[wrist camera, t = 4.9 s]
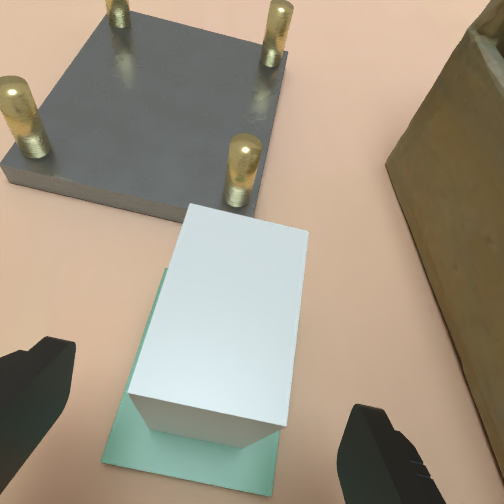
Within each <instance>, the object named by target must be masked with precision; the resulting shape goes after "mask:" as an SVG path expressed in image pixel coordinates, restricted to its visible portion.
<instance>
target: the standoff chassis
mask: <svg viewBox="0 0 504 504" xmlns="http://www.w3.org/2000/svg"><path fill="white" fill-rule="evenodd" d="M105 2H106V8H107V14H106V15H105V17H104V18H103V19H102V21H101V22H100V24H99V25H98V26H97V28H96V29H95V31H94V32H93V33H92V35H91V36H90V38H89V39H88V40H87V42H86V43H85V45H84V46H83V47H82V49H81V50H80V52H79V53H78V55H77V56H76V57H75V59H74V60H73V62H72V63H71V64H70V66H69V67H68V69H67V70H66V71H65V73H64V74H63V76H62V77H61V78H60V80H59V81H58V83H57V84H56V85H55V87H54V88H53V90H52V91H51V92H50V94H49V95H48V97H47V98H46V99H45V101H44V102H43V104H42V105H41V106H40V108H39V109H37V107H36V104H35V102H34V99H33V96H32V94H31V91H30V89H29V86H28V83H27V82H26V81H25V80H24V79H23V78H21V77H18V76H3V77H0V110H1V112H2V114H3V116H4V118H5V120H6V122H7V124H8V126H9V128H10V131H11V133H12V135H13V137H14V139H15V141H16V142H15V143H14V144H13V146H12V147H11V149H10V150H9V151H8V153H7V154H6V156H5V157H4V158H3V160H2V161H1V163H0V167H1V168H2V170H3V172H4V174H5V175H6V177H7V179H8V181H9V182H10V183H14V184H18V185H22V186H27V187H31V188H35V189H39V190H44V191H48V192H52V193H56V194H61V195H65V196H69V197H73V198H78V199H82V200H86V201H90V202H95V203H99V204H103V205H108V206H112V207H116V208H120V209H125V210H129V211H133V212H137V213H142V214H146V215H150V216H154V217H159V218H163V219H167V220H171V221H176V222H180V223H183V222H184V219H185V216H186V213H187V210H188V207H189V204H190V203H192V204H196V205H200V206H204V207H209V208H213V209H217V210H221V211H225V212H230V213H234V214H238V215H242V216H247V217H251V218H253V215H254V210H255V206H256V201H257V196H258V192H259V187H260V182H261V178H262V173H263V168H264V163H265V159H266V154H267V149H268V145H269V140H270V135H271V131H272V126H273V121H274V116H275V112H276V107H277V102H278V98H279V93H280V88H281V84H282V79H283V74H284V69H285V65H286V60H287V55H288V52H287V51H284V47H285V42H286V38H287V34H288V30H289V26H290V22H291V17H292V13H293V9H294V7H293V5H292V4H291V3H290V2H288V1H286V0H272V1H271V3H270V8H269V14H268V19H267V24H266V30H265V35H264V40H263V45H260V44H257V43H253V42H249V41H245V40H241V39H237V38H233V37H230V36H226V35H222V34H218V33H214V32H210V31H207V30H203V29H199V28H195V27H191V26H187V25H183V24H180V23H176V22H172V21H168V20H164V19H160V18H156V17H153V16H149V15H145V14H141V13H137V12H133V11H130V9H129V0H105Z"/></svg>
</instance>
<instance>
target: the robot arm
mask: <svg viewBox="0 0 504 504" xmlns="http://www.w3.org/2000/svg"><path fill="white" fill-rule="evenodd" d="M75 352H76V344H75V342H72V341H67V340H63V339H58V338H53V337H49V336H46V337H44V338H43V339H42V340H40V341H39V342H38V343H37V344H36V345H35V346H33V347H32V348H31V349H30V350H29V351H23V350H18V351H16V352H13V353H11V354H8V355H6V356H3V357H1V358H0V494H1V493H2V492H3V490H4V489H5V488H6V486H7V485H8V484H9V482H10V481H11V480H12V478H13V477H14V476H15V474H16V473H17V472H18V470H19V469H20V468H21V466H22V465H23V464H24V462H25V461H26V460H27V458H28V457H29V456H30V454H31V453H32V452H33V451H34V449H35V448H36V447H37V445H38V444H39V443H40V441H41V440H42V439H43V437H44V436H45V435H46V433H47V432H48V431H49V429H50V428H51V427H52V425H53V424H54V423H55V421H56V420H57V419H58V417H59V416H60V415H61V413H62V411H63V409H64V407H65V405H66V403H67V400H68V397H69V393H70V387H71V380H72V373H73V366H74V359H75ZM337 472H338V476H339V480H340V484H341V488H342V491H343V495H344V499H345V503H346V504H446V502H445V501H444V499H443V497H442V495H441V493H440V492H439V490H438V488H437V486H436V484H435V483H434V481H433V479H431V478H430V476H431V475H430V474H429V472H428V470H427V468H426V466H425V465H423V461H422V459H421V457H420V456H419V454H418V452H417V450H416V448H415V447H414V445H413V444H412V443H411V442H410V441H409V440H408V439H407V438H406V437H405V436H404V435H403V434H402V433H401V432H400V431H396V430H394V428H393V426H392V424H391V422H390V420H389V418H388V417H387V415H386V413H385V411H384V410H383V409H380V408H375V407H371V406H366V405H362V404H355V405H354V406H353V408H352V411H351V413H350V416H349V419H348V422H347V425H346V428H345V431H344V434H343V437H342V440H341V443H340V446H339V449H338V454H337Z"/></svg>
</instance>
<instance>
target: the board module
mask: <svg viewBox="0 0 504 504" xmlns="http://www.w3.org/2000/svg"><path fill="white" fill-rule="evenodd" d="M308 234H309V231H305V230H301V229H297V228H293V227H289V226H284V225H280V224H276V223H272V222H268V221H263V220H259V219H255V218H251V217H247V216H242V215H238V214H234V213H230V212H225V211H221V210H217V209H213V208H209V207H204V206H200V205H196V204H192V203H190V204H189V207H188V210H187V213H186V216H185V219H184V222H183V225H182V228H181V231H180V234H179V237H178V240H177V243H176V246H175V249H174V252H173V255H172V258H171V261H170V264H169V267H168V268H165V271H164V274H163V277H162V280H161V283H160V286H159V289H158V292H157V295H156V298H155V301H154V304H153V307H152V310H151V313H150V316H149V319H148V322H147V325H146V328H145V330H144V333H143V336H142V339H141V342H140V345H139V348H138V351H137V354H136V357H135V360H134V363H133V366H132V369H131V372H130V375H129V378H128V381H127V384H126V387H125V390H124V393H123V396H122V399H121V402H120V405H119V408H118V411H117V414H116V417H115V420H114V423H113V426H112V429H111V432H110V435H109V438H108V441H107V444H106V447H105V450H104V453H103V456H102V459H101V462H102V463H106V464H111V465H116V466H121V467H126V468H131V469H136V470H141V471H146V472H150V473H155V474H160V475H165V476H170V477H175V478H180V479H185V480H190V481H195V482H200V483H205V484H210V485H214V486H219V487H224V488H229V489H234V490H239V491H244V492H249V493H254V494H259V495H264V496H269V497H272V490H273V482H274V474H275V466H276V457H277V449H278V441H279V433H280V430H281V429H283V428H285V427H286V426H287V417H288V409H289V400H290V391H291V383H292V374H293V365H294V356H295V348H296V339H297V330H298V322H299V313H300V304H301V295H302V287H303V278H304V269H305V261H306V252H307V243H308Z"/></svg>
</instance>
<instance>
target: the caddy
mask: <svg viewBox="0 0 504 504" xmlns="http://www.w3.org/2000/svg"><path fill="white" fill-rule="evenodd" d="M386 167H387V170H388V173H389V176H390V179H391V181H392V184H393V187H394V189H395V192H396V195H397V197H398V200H399V203H400V205H401V207H402V210H403V212H404V215H405V217H406V219H407V222H408V224H409V227H410V230H411V232H412V235H413V237H414V240H415V243H416V246H417V248H418V251H419V254H420V257H421V259H422V262H423V265H424V268H425V271H426V273H427V276H428V279H429V281H430V284H431V286H432V289H433V291H434V294H435V296H436V299H437V302H438V304H439V307H440V309H441V312H442V314H443V317H444V319H445V322H446V324H447V327H448V329H449V332H450V335H451V337H452V340H453V343H454V345H455V348H456V351H457V353H458V355H459V357H460V359H461V362H462V366H463V371H464V375H465V377H466V380H467V383H468V386H469V388H470V391H471V394H472V396H473V399H474V401H475V404H476V406H477V409H478V411H479V414H480V416H481V419H482V421H483V424H484V427H485V430H486V433H487V435H488V438H489V441H490V443H491V446H492V449H493V451H494V454H495V457H496V460H497V462H498V465H499V468H500V470H501V473H502V476H503V478H504V0H491V1H490V2H489V4H488V5H487V6H486V8H485V9H484V11H483V12H482V13H481V14H480V16H479V17H478V18H477V19H476V20H475V21H474V22H473V23H472V24H471V25H470V27H469V28H468V29H467V31H466V33H465V34H464V36H463V38H462V40H461V41H460V42H459V44H458V45H457V47H456V48H455V49H454V51H453V52H452V54H451V56H450V57H449V59H448V61H447V63H446V64H445V66H444V68H443V69H442V71H441V73H440V75H439V76H438V78H437V80H436V82H435V83H434V85H433V87H432V88H431V90H430V91H429V93H428V95H427V96H426V98H425V99H424V101H423V102H422V104H421V106H420V107H419V109H418V111H417V112H416V114H415V115H414V117H413V119H412V120H411V122H410V124H409V126H408V128H407V130H406V131H405V133H404V134H403V135H402V136H401V138H400V140H399V141H398V143H397V145H396V147H395V148H394V150H393V151H392V153H391V154H390V156H389V157H388V159H387V162H386Z"/></svg>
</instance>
